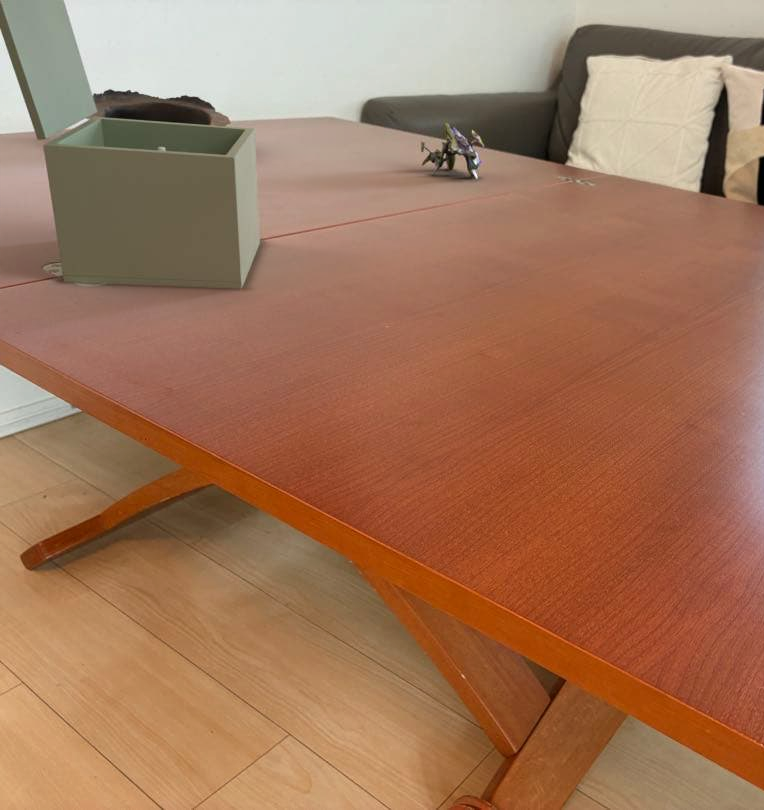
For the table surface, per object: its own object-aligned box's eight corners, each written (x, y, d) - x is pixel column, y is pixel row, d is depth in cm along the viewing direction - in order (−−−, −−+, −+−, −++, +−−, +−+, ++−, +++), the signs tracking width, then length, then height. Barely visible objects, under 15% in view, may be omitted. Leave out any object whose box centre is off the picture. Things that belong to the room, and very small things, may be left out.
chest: (260, 244, 110) (254, 128, 103) (241, 291, 94) (234, 157, 87) (109, 237, 106) (94, 116, 100) (64, 284, 90) (42, 144, 84)
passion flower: (470, 208, 161) (494, 164, 152) (415, 196, 157) (437, 150, 147) (465, 164, 167) (488, 119, 157) (412, 151, 162) (432, 104, 153)
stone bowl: (129, 132, 164) (128, 81, 160) (253, 158, 163) (255, 109, 159) (45, 150, 142) (41, 92, 138) (187, 181, 141) (188, 124, 137)
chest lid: (42, -73, 91) (33, -72, 90) (-27, -81, 75) (-37, -81, 75) (97, 112, 99) (90, 112, 99) (46, 139, 84) (37, 140, 84)
